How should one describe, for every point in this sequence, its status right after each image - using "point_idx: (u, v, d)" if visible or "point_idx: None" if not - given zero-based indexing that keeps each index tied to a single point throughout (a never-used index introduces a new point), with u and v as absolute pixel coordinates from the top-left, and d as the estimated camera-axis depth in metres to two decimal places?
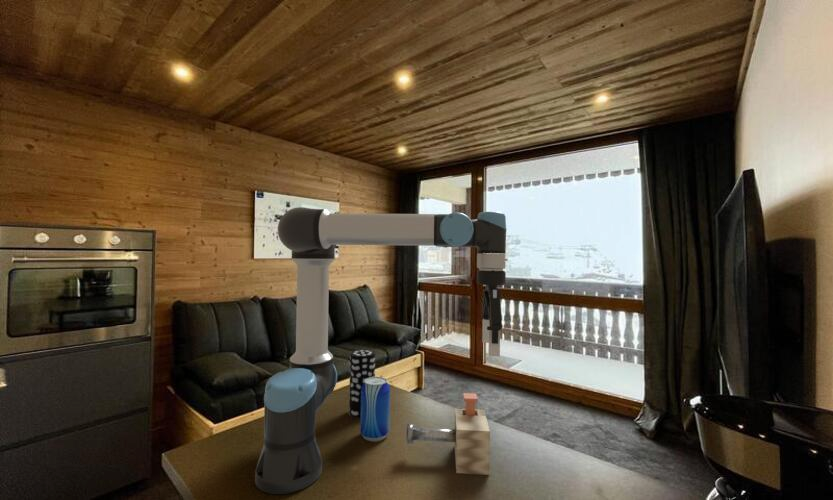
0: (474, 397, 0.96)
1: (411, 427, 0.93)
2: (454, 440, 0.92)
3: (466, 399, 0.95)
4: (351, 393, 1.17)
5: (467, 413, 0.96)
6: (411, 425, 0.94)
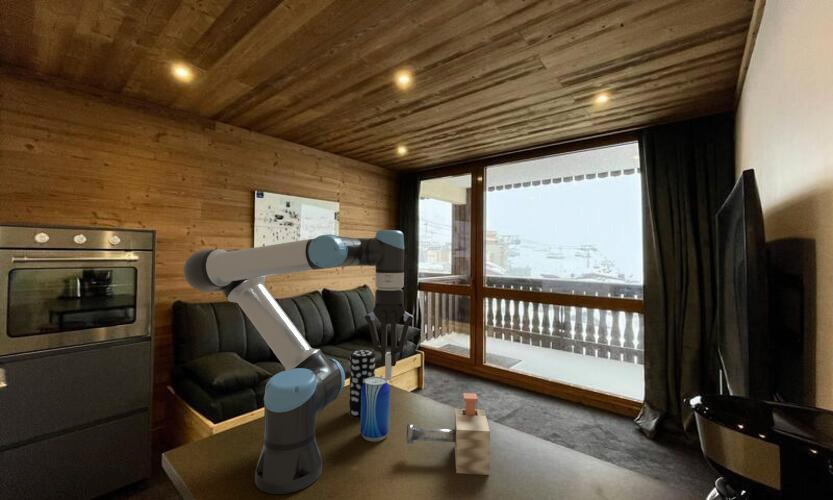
0: (474, 397, 0.96)
1: (411, 427, 0.93)
2: (454, 440, 0.92)
3: (466, 399, 0.95)
4: (351, 393, 1.17)
5: (467, 413, 0.96)
6: (411, 425, 0.94)
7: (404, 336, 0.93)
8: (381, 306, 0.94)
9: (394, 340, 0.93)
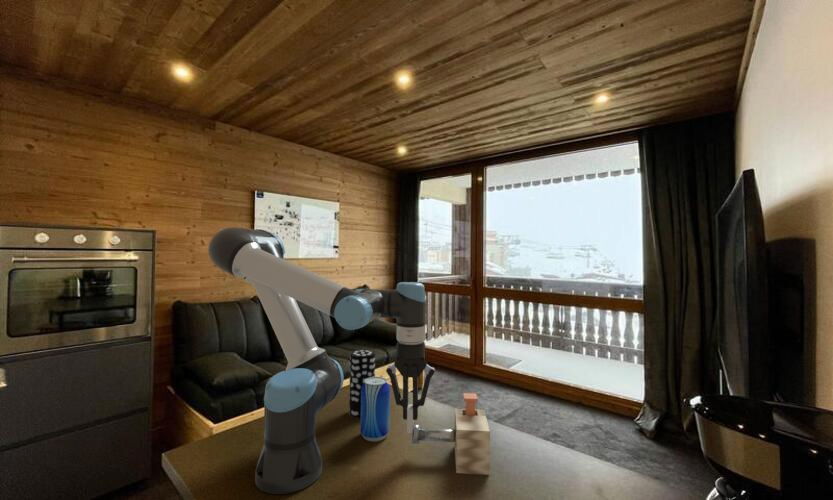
0: (474, 397, 0.96)
1: (417, 427, 0.93)
2: None
3: (466, 399, 0.95)
4: (351, 393, 1.17)
5: (467, 413, 0.96)
6: (417, 425, 0.94)
7: (426, 390, 0.93)
8: (402, 359, 0.93)
9: (416, 394, 0.93)
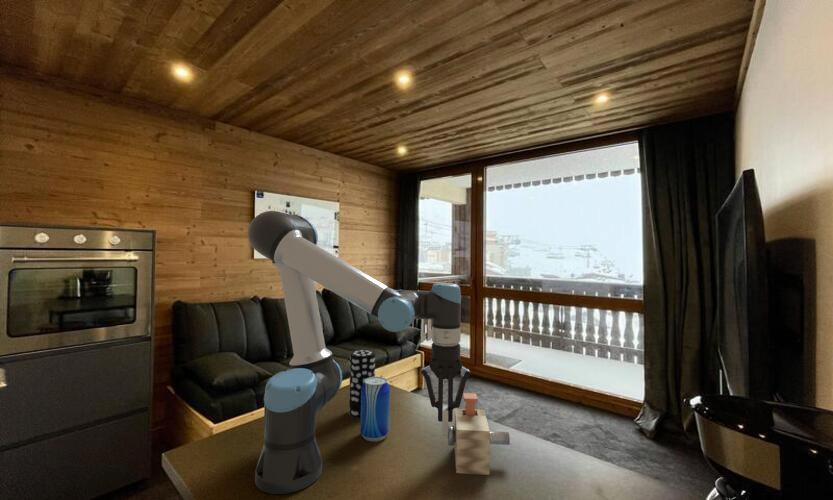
0: (474, 397, 0.96)
1: (452, 429, 0.92)
2: (496, 442, 0.91)
3: (466, 399, 0.95)
4: (351, 393, 1.17)
5: (467, 413, 0.96)
6: (452, 427, 0.93)
7: (461, 392, 0.92)
8: (438, 361, 0.93)
9: (451, 396, 0.92)
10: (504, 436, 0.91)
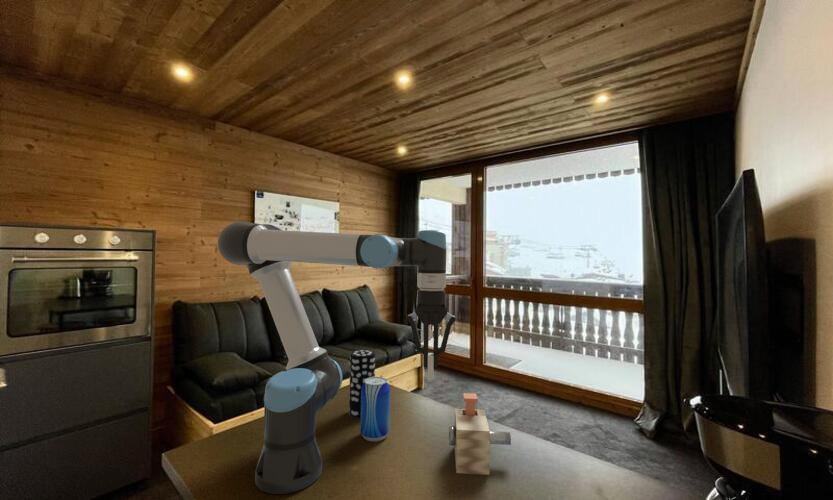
0: (474, 397, 0.96)
1: (453, 429, 0.92)
2: (497, 442, 0.91)
3: (466, 399, 0.95)
4: (351, 393, 1.17)
5: (467, 413, 0.96)
6: (453, 427, 0.93)
7: (447, 337, 0.93)
8: (423, 307, 0.93)
9: (437, 341, 0.93)
10: (506, 436, 0.91)
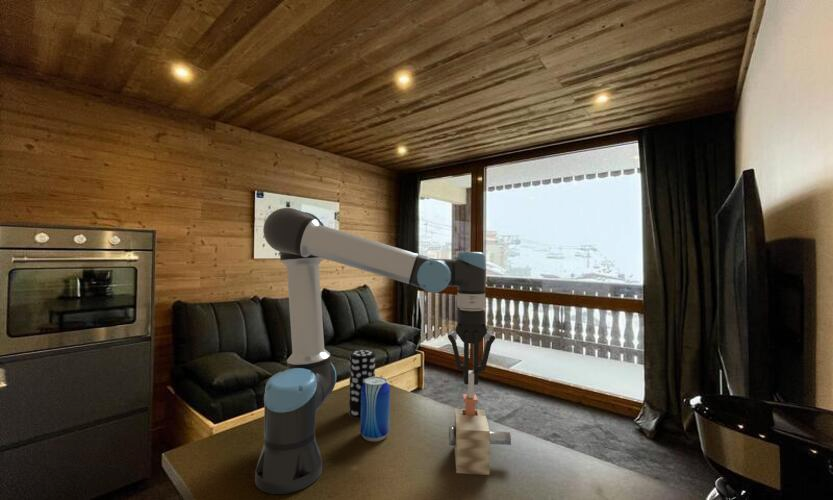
0: (474, 398, 0.96)
1: (453, 429, 0.92)
2: (497, 442, 0.91)
3: (466, 400, 0.95)
4: (351, 393, 1.17)
5: (467, 414, 0.96)
6: (453, 427, 0.93)
7: (487, 355, 0.96)
8: (464, 326, 0.96)
9: (477, 359, 0.96)
10: (506, 436, 0.91)
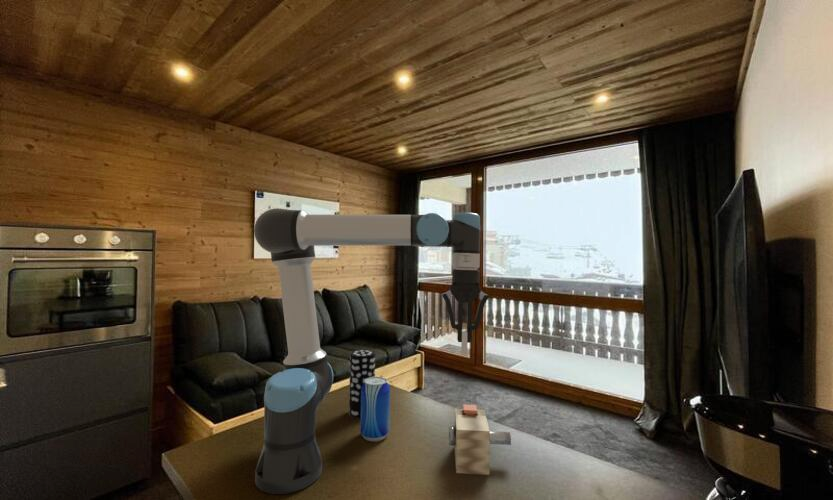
0: (474, 409, 0.96)
1: (453, 429, 0.92)
2: (497, 442, 0.91)
3: (466, 411, 0.95)
4: (351, 393, 1.17)
5: None
6: (453, 427, 0.93)
7: (480, 314, 0.98)
8: (458, 285, 0.99)
9: (470, 317, 0.98)
10: (506, 436, 0.91)
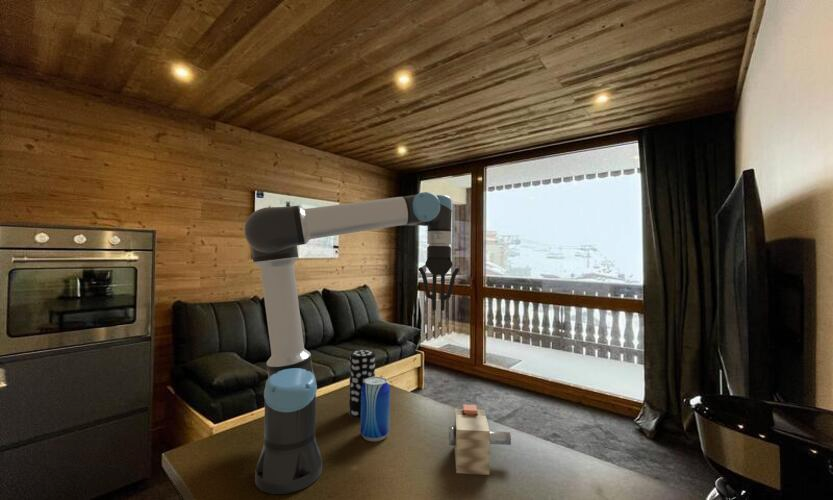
0: (474, 409, 0.96)
1: (453, 429, 0.92)
2: (497, 442, 0.91)
3: (466, 411, 0.95)
4: (351, 393, 1.17)
5: None
6: (453, 427, 0.93)
7: (452, 285, 1.10)
8: (432, 260, 1.11)
9: (443, 288, 1.11)
10: (506, 436, 0.91)
